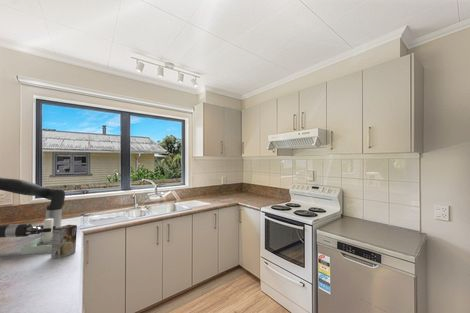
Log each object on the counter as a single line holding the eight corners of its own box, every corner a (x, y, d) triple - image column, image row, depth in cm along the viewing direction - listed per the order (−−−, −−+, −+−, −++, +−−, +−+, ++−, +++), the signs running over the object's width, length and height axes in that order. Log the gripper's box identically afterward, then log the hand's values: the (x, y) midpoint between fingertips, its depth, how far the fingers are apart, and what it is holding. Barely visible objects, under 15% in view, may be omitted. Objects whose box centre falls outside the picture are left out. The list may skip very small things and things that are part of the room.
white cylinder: (44, 241, 127) (46, 218, 128) (53, 240, 128) (55, 218, 129) (39, 243, 123) (42, 220, 124) (48, 243, 124) (51, 220, 125)
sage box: (39, 243, 132) (40, 237, 132) (68, 241, 137) (69, 235, 137) (20, 254, 115) (20, 247, 115) (54, 251, 119) (54, 245, 120)
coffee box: (67, 251, 121) (69, 224, 122) (75, 252, 120) (77, 225, 121) (50, 257, 112) (52, 228, 113) (59, 259, 111) (61, 229, 112)
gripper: (10, 227, 115) (47, 225, 120) (27, 221, 129) (59, 220, 134) (9, 240, 115) (46, 238, 120) (26, 233, 128) (58, 231, 133)
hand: (53, 228), depth 127 cm, fingers closed on white cylinder, 4 cm apart
